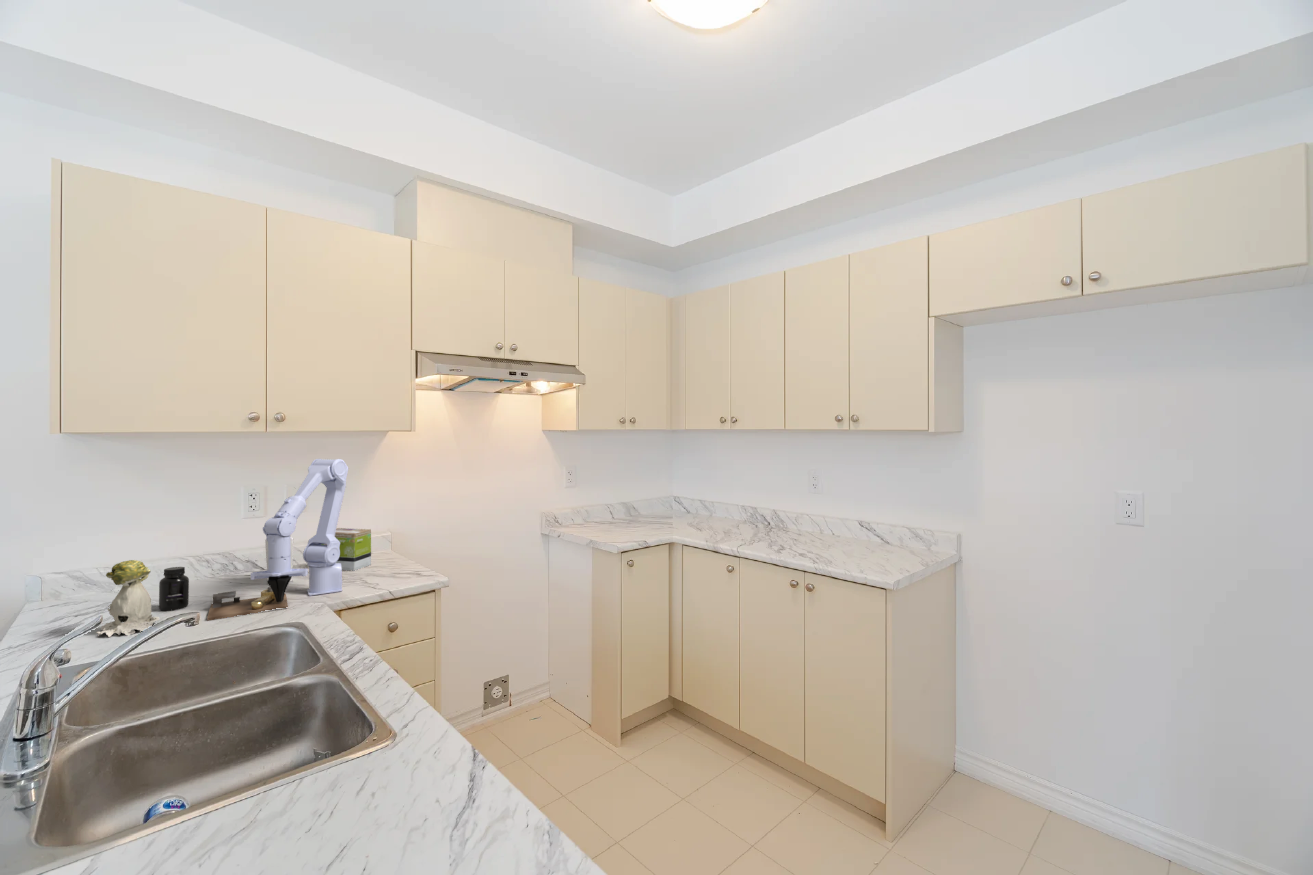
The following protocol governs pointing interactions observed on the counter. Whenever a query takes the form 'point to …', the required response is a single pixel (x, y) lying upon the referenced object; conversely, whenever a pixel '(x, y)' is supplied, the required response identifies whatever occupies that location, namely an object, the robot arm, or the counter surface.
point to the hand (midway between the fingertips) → (279, 600)
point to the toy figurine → (129, 599)
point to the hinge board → (238, 606)
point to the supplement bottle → (173, 589)
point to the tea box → (354, 548)
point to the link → (263, 599)
